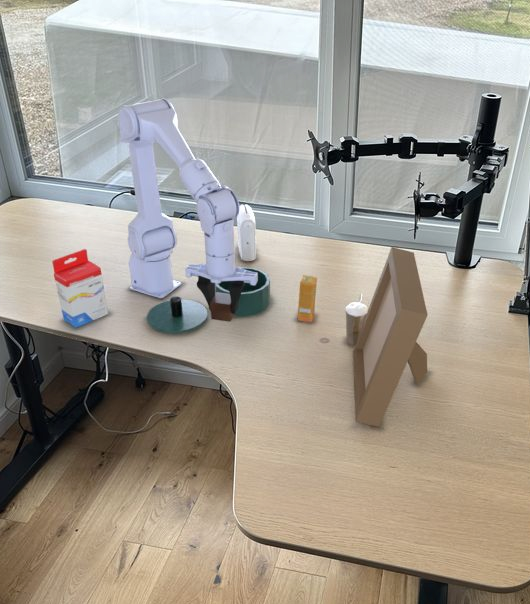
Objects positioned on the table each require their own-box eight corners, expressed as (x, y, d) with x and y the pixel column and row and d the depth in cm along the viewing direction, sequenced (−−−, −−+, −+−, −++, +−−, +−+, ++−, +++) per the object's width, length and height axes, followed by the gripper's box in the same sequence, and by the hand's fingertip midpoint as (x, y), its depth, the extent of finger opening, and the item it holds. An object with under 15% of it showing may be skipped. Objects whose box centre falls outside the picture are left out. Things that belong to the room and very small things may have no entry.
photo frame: (355, 425, 118) (365, 307, 104) (352, 355, 136) (361, 245, 121) (437, 429, 118) (459, 310, 103) (424, 358, 136) (441, 248, 121)
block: (211, 319, 136) (209, 302, 133) (217, 309, 139) (216, 291, 137) (230, 322, 135) (229, 304, 133) (236, 311, 139) (235, 294, 136)
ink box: (75, 329, 141) (62, 268, 133) (63, 320, 144) (49, 260, 135) (109, 314, 147) (99, 255, 138) (97, 305, 149) (86, 247, 141)
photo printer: (257, 261, 169) (256, 216, 161) (240, 262, 168) (239, 217, 161) (253, 243, 177) (252, 200, 170) (237, 244, 176) (235, 200, 169)
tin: (210, 314, 147) (208, 291, 144) (222, 287, 157) (221, 265, 154) (264, 318, 146) (264, 296, 143) (273, 291, 156) (273, 269, 153)
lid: (139, 332, 141) (136, 312, 138) (157, 301, 151) (155, 282, 148) (199, 338, 140) (197, 317, 137) (213, 305, 150) (212, 286, 147)
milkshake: (368, 336, 142) (371, 296, 136) (361, 349, 138) (365, 308, 132) (348, 331, 143) (350, 292, 137) (341, 345, 139) (343, 304, 133)
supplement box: (312, 323, 145) (314, 283, 140) (297, 321, 146) (298, 281, 140) (315, 315, 148) (317, 276, 142) (300, 313, 149) (301, 274, 143)
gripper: (177, 255, 126) (183, 315, 134) (250, 264, 124) (252, 324, 132) (190, 239, 132) (195, 297, 140) (259, 248, 130) (261, 306, 138)
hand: (223, 309), depth 136 cm, fingers closed on block, 4 cm apart
